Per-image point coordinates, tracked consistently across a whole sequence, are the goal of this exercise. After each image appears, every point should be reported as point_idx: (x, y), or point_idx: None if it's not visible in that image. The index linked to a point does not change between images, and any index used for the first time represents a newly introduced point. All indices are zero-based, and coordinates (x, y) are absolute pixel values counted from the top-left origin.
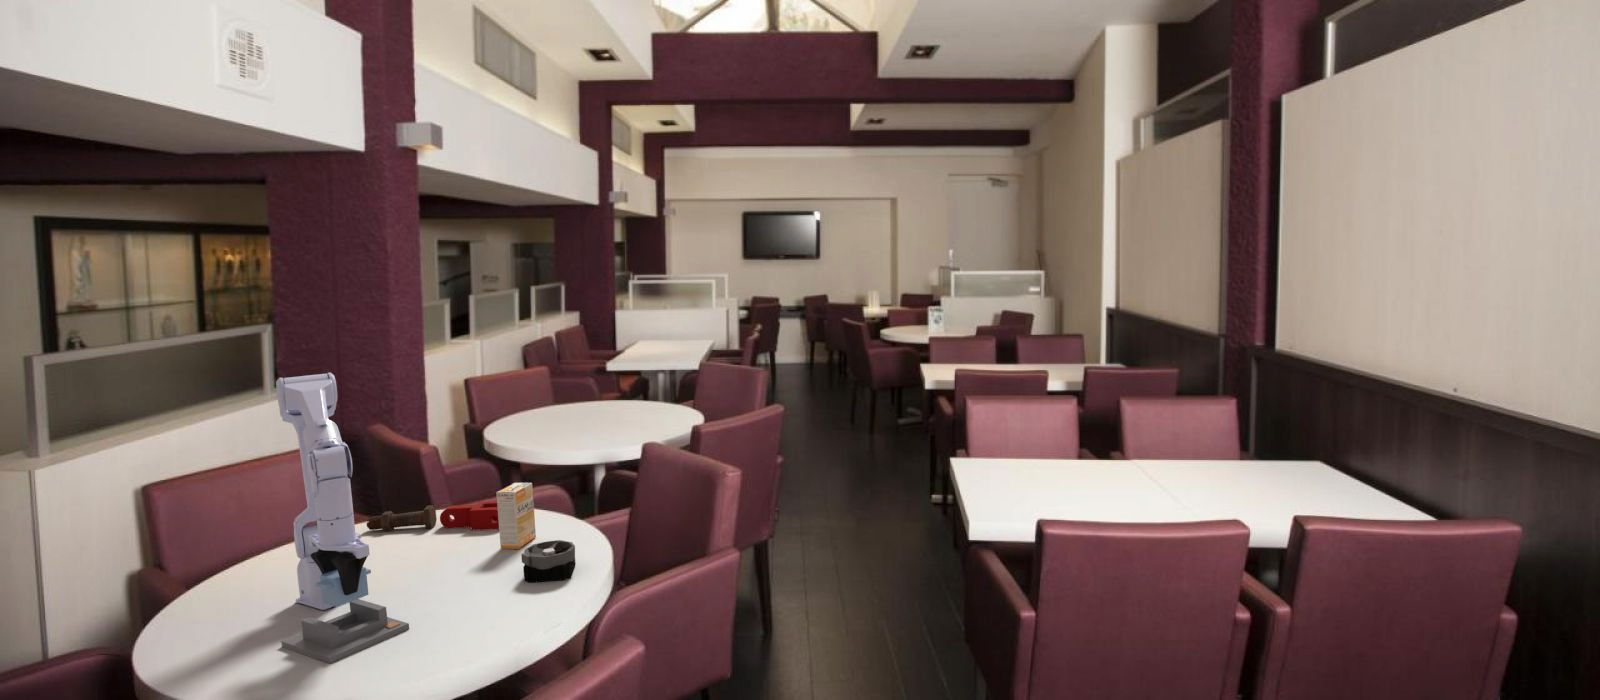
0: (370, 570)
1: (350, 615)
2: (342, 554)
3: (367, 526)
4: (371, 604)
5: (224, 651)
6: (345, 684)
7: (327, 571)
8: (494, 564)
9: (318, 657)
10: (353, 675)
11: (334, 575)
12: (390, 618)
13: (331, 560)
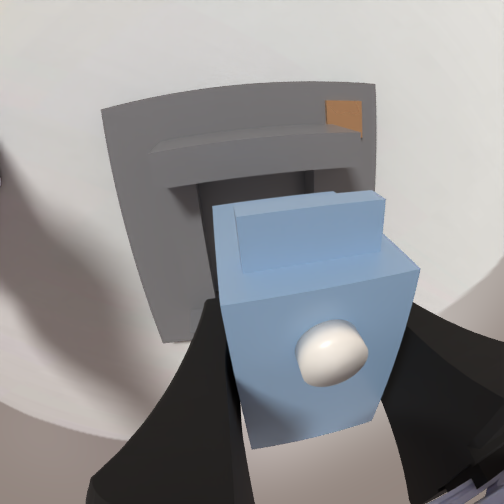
0: (384, 201)
1: (197, 193)
2: (235, 460)
3: None
4: (280, 148)
5: (103, 386)
6: (437, 307)
7: (241, 434)
8: None
9: None
10: (430, 289)
11: (333, 417)
12: (285, 85)
13: (411, 502)
